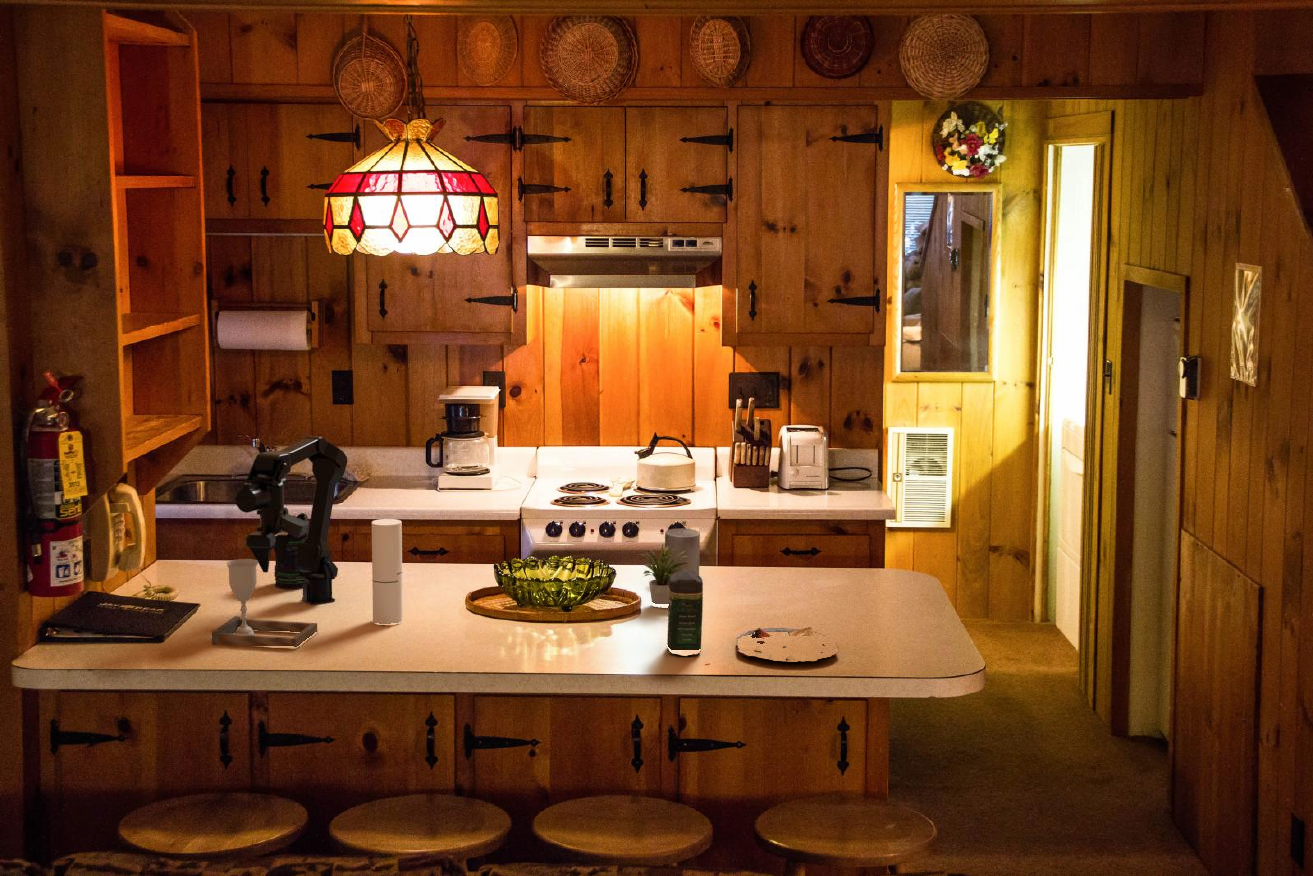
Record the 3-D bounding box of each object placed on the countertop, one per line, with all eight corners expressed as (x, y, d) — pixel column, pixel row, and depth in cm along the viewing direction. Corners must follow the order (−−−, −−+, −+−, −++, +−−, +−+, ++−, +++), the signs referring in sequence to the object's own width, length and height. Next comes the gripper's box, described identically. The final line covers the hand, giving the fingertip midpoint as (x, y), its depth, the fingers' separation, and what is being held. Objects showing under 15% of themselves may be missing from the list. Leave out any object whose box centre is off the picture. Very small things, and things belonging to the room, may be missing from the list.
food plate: (735, 633, 353) (735, 620, 352) (831, 637, 352) (832, 623, 351) (737, 669, 328) (738, 654, 327) (841, 673, 327) (842, 658, 327)
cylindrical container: (408, 620, 359) (407, 520, 355) (391, 627, 352) (390, 526, 349) (384, 616, 362) (383, 517, 358) (366, 623, 355) (365, 523, 351)
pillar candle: (666, 575, 407) (667, 523, 405) (701, 577, 406) (702, 524, 403) (661, 584, 398) (662, 531, 395) (697, 586, 396) (698, 532, 394)
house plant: (657, 617, 365) (658, 554, 363) (621, 605, 375) (622, 544, 373) (698, 608, 374) (700, 546, 372) (663, 597, 385) (664, 536, 382)
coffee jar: (702, 658, 334) (704, 579, 331) (668, 657, 333) (670, 578, 330) (699, 645, 343) (701, 568, 340) (666, 645, 343) (667, 568, 340)
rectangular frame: (317, 633, 347) (317, 621, 346) (296, 649, 334) (296, 637, 333) (235, 628, 349) (235, 616, 349) (212, 644, 337) (211, 631, 336)
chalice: (231, 643, 338) (229, 567, 335) (225, 635, 344) (223, 560, 341) (263, 639, 341) (261, 564, 338) (256, 631, 347) (255, 557, 344)
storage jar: (320, 584, 391) (319, 529, 389) (293, 591, 383) (292, 536, 380) (294, 578, 396) (293, 524, 394) (266, 585, 388) (265, 531, 386)
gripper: (288, 514, 343) (290, 579, 345) (317, 499, 361) (319, 560, 363) (243, 512, 344) (245, 576, 347) (274, 496, 362) (276, 558, 365)
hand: (273, 567), depth 355 cm, fingers open, 9 cm apart
